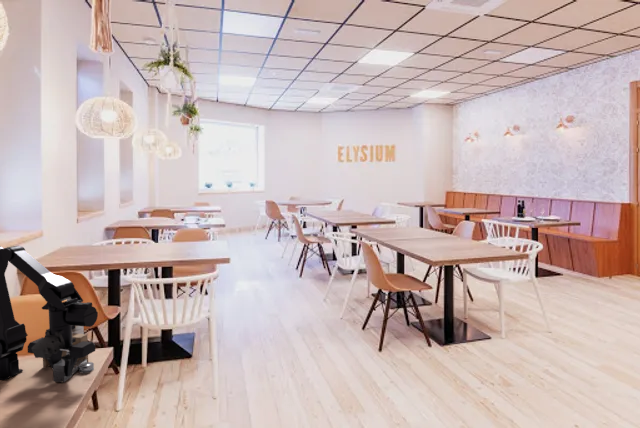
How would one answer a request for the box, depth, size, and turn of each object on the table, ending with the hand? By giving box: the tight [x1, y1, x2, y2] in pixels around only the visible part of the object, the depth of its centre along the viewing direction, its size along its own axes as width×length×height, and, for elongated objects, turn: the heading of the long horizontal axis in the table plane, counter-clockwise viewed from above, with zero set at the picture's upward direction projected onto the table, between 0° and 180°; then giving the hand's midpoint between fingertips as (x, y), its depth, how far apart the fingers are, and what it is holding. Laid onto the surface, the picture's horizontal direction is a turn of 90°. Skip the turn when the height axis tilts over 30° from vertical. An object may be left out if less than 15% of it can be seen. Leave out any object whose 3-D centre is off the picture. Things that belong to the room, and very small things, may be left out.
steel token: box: [78, 361, 95, 374], centre depth 136 cm, size 4×4×2 cm
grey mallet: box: [52, 359, 87, 383], centre depth 133 cm, size 3×12×5 cm, turn 177°
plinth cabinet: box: [42, 333, 89, 369], centre depth 139 cm, size 12×6×10 cm, turn 78°
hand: (62, 375), depth 129 cm, fingers closed on grey mallet, 3 cm apart
